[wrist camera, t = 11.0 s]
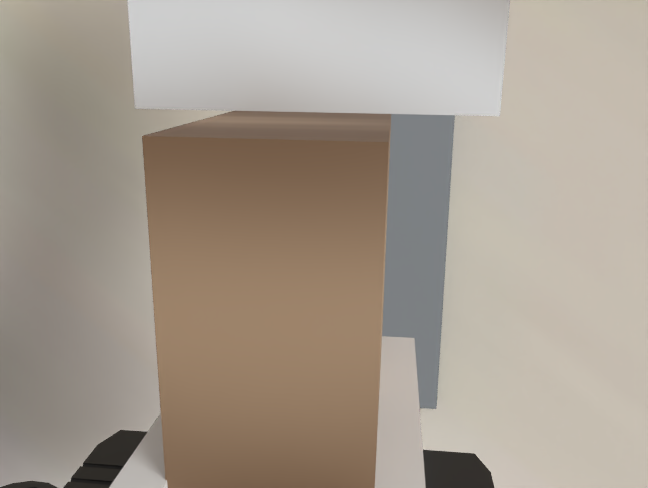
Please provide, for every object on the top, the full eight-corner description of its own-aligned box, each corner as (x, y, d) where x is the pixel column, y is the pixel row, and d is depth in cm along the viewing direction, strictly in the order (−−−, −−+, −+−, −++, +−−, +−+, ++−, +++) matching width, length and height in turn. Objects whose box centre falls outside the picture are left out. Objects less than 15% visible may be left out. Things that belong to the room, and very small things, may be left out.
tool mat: (435, 403, 28) (436, 408, 27) (259, 392, 29) (256, 397, 28) (470, -156, 22) (471, -161, 22) (248, -149, 23) (245, -154, 22)
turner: (449, 583, 16) (479, 867, 10) (187, 557, 17) (80, 811, 11) (528, -368, 11) (685, -874, 5) (134, -345, 11) (-133, -766, 6)
